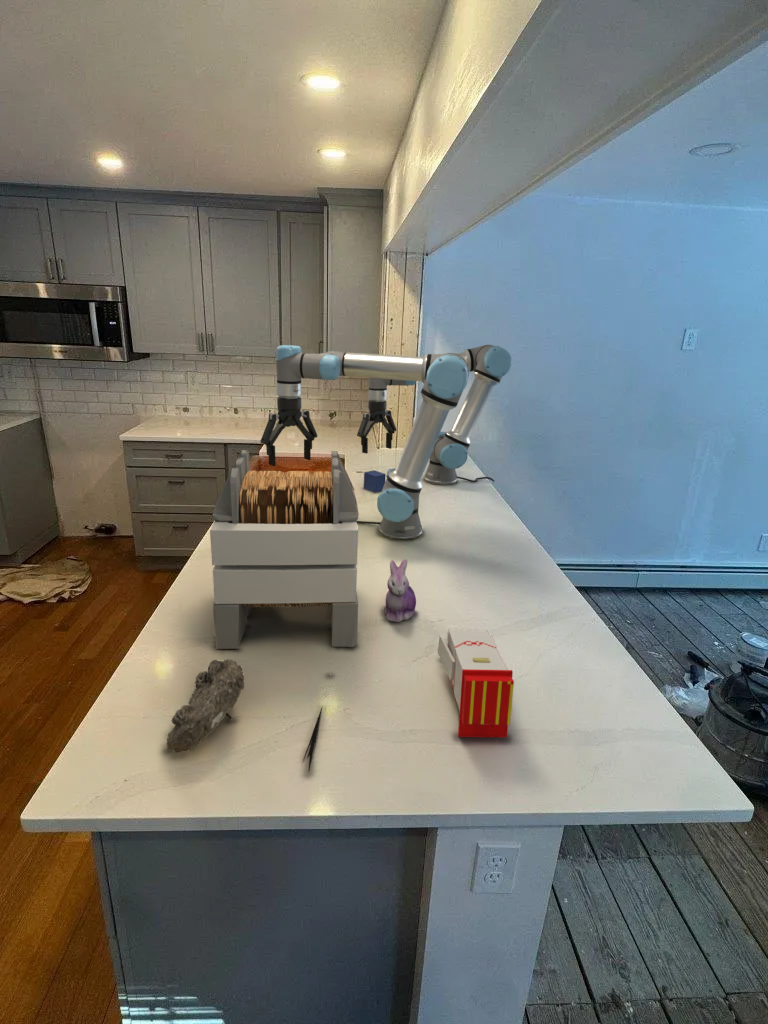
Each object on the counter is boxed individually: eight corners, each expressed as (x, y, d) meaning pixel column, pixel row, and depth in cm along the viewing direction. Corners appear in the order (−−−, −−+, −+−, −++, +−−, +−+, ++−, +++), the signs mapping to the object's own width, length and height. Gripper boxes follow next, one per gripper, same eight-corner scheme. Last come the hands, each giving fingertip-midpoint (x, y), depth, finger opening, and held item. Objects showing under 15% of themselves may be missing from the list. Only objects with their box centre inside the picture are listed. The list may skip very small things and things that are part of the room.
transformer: (234, 582, 160) (226, 440, 146) (350, 581, 163) (353, 443, 150) (213, 651, 128) (201, 478, 114) (357, 647, 132) (363, 480, 118)
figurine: (392, 627, 141) (395, 572, 136) (374, 608, 149) (376, 556, 144) (425, 619, 145) (429, 566, 140) (405, 601, 154) (408, 550, 149)
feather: (331, 679, 122) (336, 673, 122) (307, 777, 96) (313, 769, 95) (324, 675, 122) (329, 669, 121) (298, 772, 95) (304, 764, 95)
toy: (488, 613, 130) (523, 677, 101) (484, 667, 133) (517, 744, 104) (435, 612, 130) (455, 676, 101) (432, 666, 133) (451, 743, 103)
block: (374, 493, 243) (375, 476, 240) (363, 488, 248) (364, 472, 245) (384, 490, 247) (385, 474, 244) (373, 486, 252) (374, 470, 249)
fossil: (192, 660, 117) (244, 628, 112) (224, 691, 120) (276, 661, 115) (142, 746, 98) (202, 712, 93) (182, 779, 101) (242, 748, 96)
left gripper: (260, 401, 167) (262, 470, 175) (328, 395, 184) (327, 459, 191) (247, 397, 173) (250, 465, 180) (314, 392, 189) (314, 454, 196)
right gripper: (360, 404, 223) (360, 456, 231) (405, 398, 239) (404, 447, 247) (348, 401, 228) (348, 453, 236) (393, 396, 244) (392, 444, 252)
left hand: (290, 462), depth 185 cm, fingers open, 13 cm apart
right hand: (376, 450), depth 241 cm, fingers open, 13 cm apart
